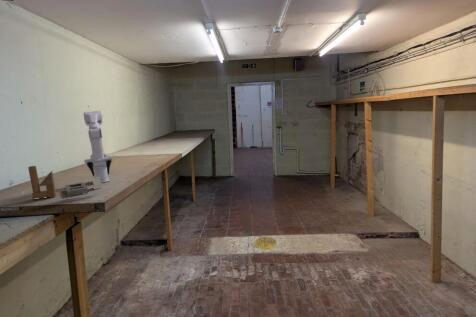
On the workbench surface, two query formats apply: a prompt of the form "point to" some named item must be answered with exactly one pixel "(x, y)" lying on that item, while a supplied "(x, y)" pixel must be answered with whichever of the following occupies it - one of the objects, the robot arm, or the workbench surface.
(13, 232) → the workbench surface
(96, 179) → the block
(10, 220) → the workbench surface
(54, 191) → the wooden stand
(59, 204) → the workbench surface
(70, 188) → the socket plate
